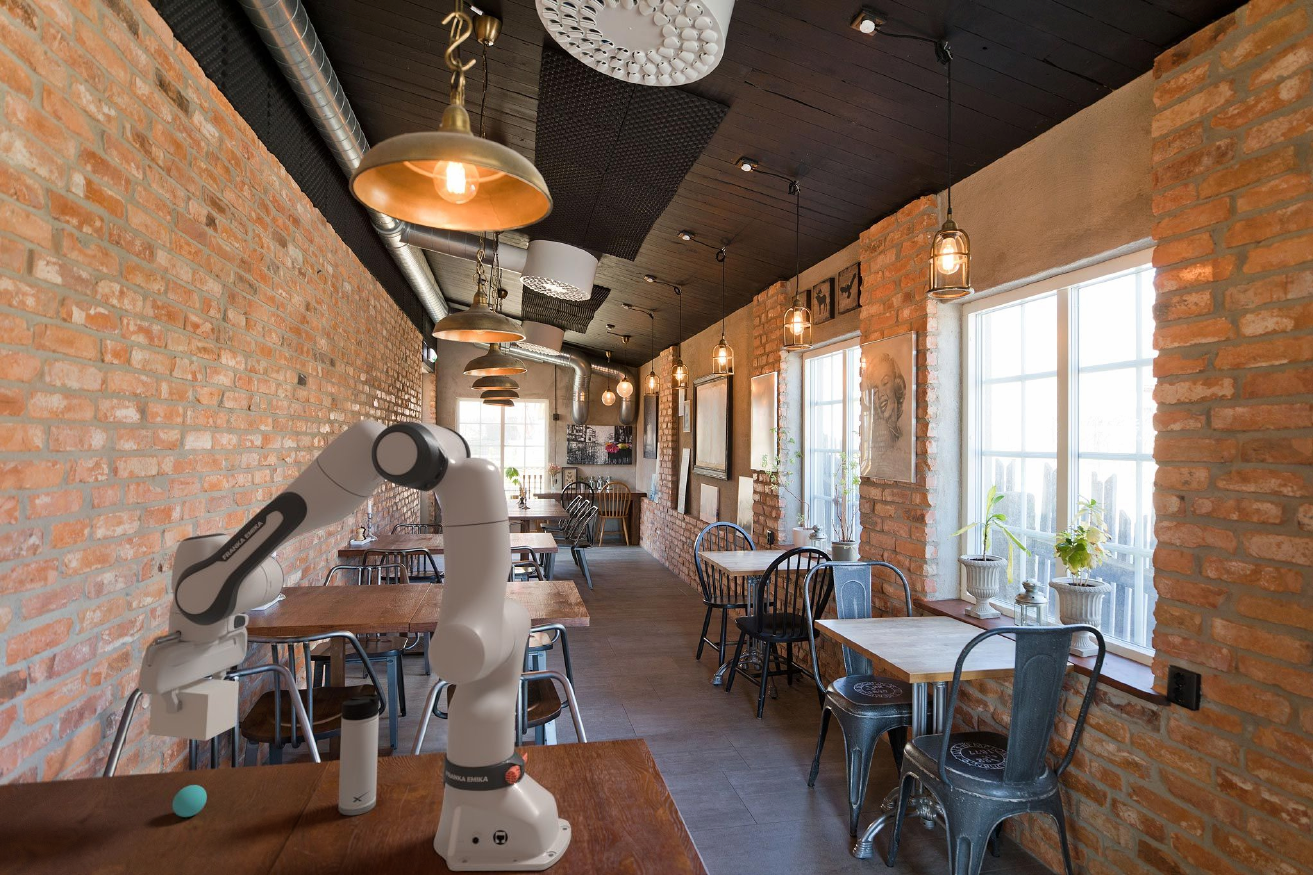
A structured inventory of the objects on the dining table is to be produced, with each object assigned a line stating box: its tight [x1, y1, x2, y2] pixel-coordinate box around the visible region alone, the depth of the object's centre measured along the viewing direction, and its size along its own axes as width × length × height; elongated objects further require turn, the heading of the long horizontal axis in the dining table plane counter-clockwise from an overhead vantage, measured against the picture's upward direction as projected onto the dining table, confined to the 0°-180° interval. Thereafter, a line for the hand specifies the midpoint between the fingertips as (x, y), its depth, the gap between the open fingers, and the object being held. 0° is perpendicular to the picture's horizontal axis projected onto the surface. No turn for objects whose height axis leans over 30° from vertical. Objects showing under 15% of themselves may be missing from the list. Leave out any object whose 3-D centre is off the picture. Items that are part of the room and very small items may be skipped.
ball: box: [172, 784, 208, 818], centre depth 122 cm, size 5×5×5 cm
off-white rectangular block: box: [148, 677, 240, 742], centre depth 122 cm, size 11×7×8 cm, turn 82°
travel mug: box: [338, 693, 381, 816], centre depth 126 cm, size 6×7×20 cm
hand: (193, 703), depth 122 cm, fingers closed on off-white rectangular block, 7 cm apart
